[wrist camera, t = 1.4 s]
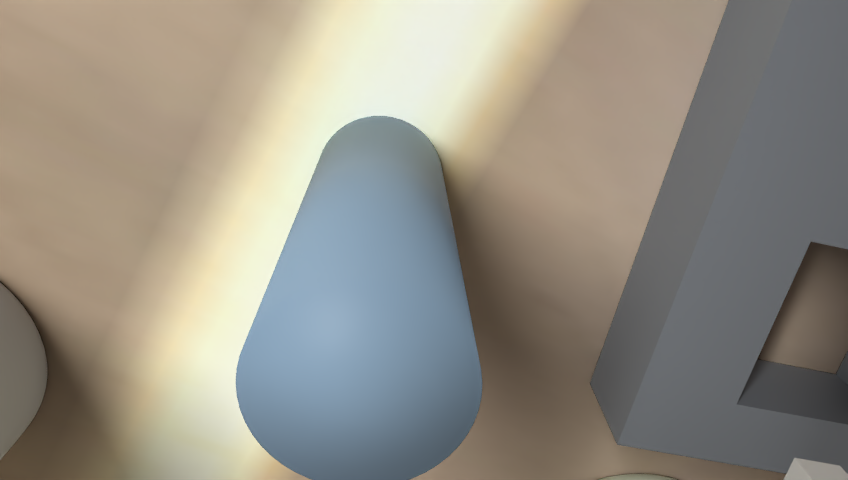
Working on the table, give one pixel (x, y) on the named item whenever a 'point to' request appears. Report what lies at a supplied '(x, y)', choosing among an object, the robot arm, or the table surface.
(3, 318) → the mug
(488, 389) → the table surface
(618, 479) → the can
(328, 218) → the peg
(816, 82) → the socket
